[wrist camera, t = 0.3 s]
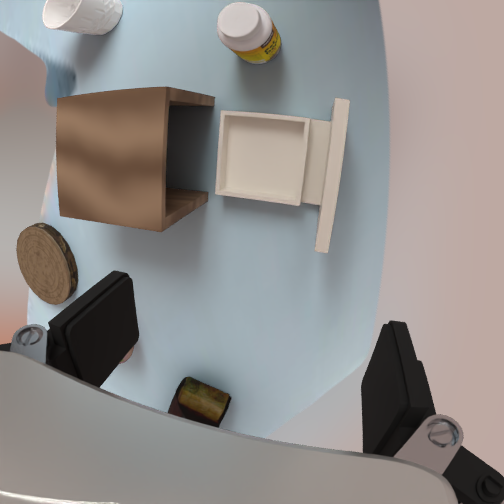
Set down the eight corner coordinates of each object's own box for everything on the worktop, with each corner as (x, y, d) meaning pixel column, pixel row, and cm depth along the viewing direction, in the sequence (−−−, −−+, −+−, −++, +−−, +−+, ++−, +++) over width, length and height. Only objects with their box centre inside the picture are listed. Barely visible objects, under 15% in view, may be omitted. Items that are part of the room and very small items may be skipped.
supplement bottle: (277, 68, 33) (260, 48, 24) (232, 61, 34) (203, 42, 25) (286, 28, 31) (272, -3, 22) (241, 22, 32) (215, -7, 23)
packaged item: (192, 358, 53) (169, 397, 44) (242, 382, 53) (227, 425, 44) (154, 445, 70) (139, 473, 61) (188, 462, 69) (175, 490, 60)
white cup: (124, -14, 32) (83, -34, 23) (129, 24, 34) (85, 9, 25) (84, 9, 34) (41, -3, 25) (88, 47, 36) (43, 39, 27)
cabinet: (121, 99, 39) (57, 98, 27) (214, 97, 36) (166, 86, 25) (120, 191, 44) (60, 216, 32) (207, 201, 42) (161, 232, 30)
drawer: (229, 97, 36) (193, 87, 25) (342, 108, 34) (349, 100, 23) (221, 203, 41) (186, 230, 31) (327, 218, 39) (327, 253, 29)
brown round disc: (85, 305, 55) (76, 313, 52) (34, 288, 58) (26, 294, 55) (72, 226, 49) (61, 232, 46) (21, 218, 52) (10, 223, 49)
